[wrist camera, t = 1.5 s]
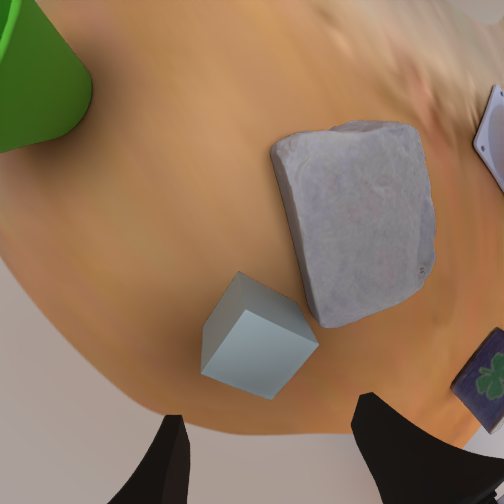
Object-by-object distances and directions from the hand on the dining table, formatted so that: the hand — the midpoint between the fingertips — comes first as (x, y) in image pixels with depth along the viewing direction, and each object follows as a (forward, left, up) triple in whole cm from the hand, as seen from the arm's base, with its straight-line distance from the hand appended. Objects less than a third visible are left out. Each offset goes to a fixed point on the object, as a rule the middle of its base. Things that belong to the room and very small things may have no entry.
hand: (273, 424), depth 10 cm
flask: (-27, -6, -10) cm, 29 cm away
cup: (+18, -6, -10) cm, 21 cm away
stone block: (-3, -9, -10) cm, 14 cm away
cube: (0, 0, -9) cm, 9 cm away
